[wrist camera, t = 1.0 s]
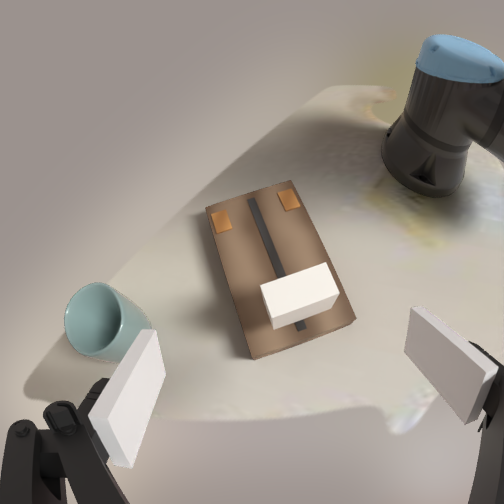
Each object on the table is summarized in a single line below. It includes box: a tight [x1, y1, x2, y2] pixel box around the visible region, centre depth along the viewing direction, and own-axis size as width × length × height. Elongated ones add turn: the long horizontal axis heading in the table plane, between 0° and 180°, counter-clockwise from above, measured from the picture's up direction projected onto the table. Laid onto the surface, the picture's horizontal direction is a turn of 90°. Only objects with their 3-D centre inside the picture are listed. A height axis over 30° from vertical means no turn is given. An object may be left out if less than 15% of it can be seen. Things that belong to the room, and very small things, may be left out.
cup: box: [64, 283, 152, 364], centre depth 31 cm, size 8×8×10 cm
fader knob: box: [260, 262, 340, 329], centre depth 28 cm, size 6×3×8 cm, turn 108°
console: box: [205, 180, 356, 360], centre depth 37 cm, size 12×20×3 cm, turn 18°
